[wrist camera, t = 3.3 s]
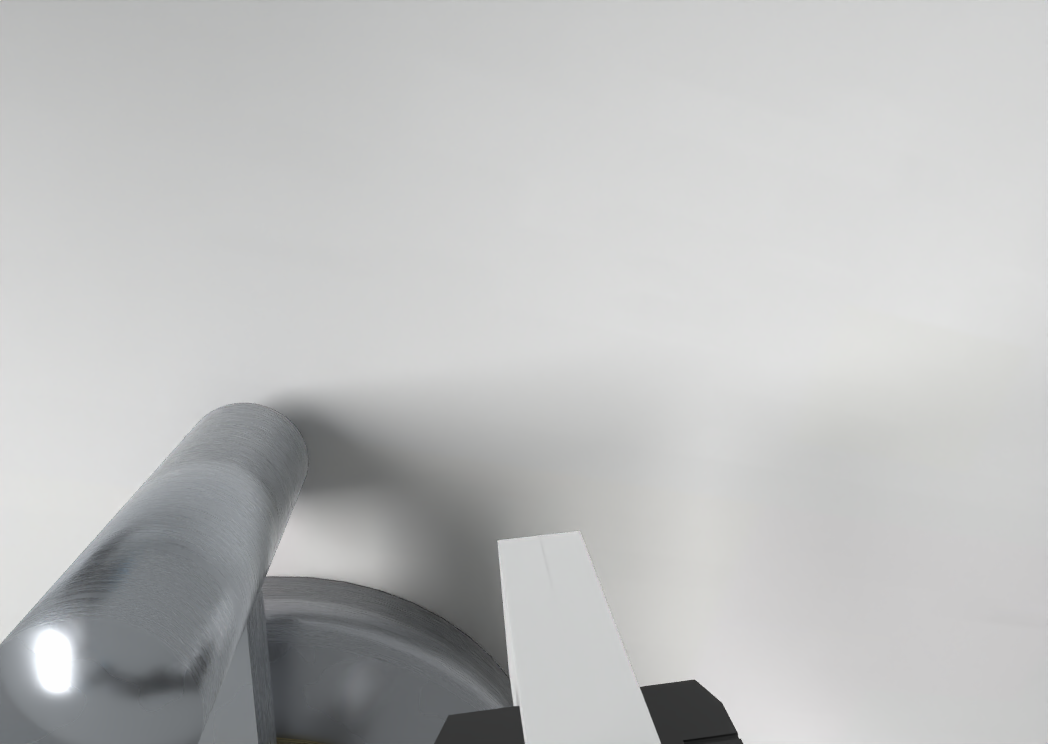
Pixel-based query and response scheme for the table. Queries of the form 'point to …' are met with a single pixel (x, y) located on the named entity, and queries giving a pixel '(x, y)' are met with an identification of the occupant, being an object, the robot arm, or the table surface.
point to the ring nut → (166, 603)
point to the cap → (369, 665)
